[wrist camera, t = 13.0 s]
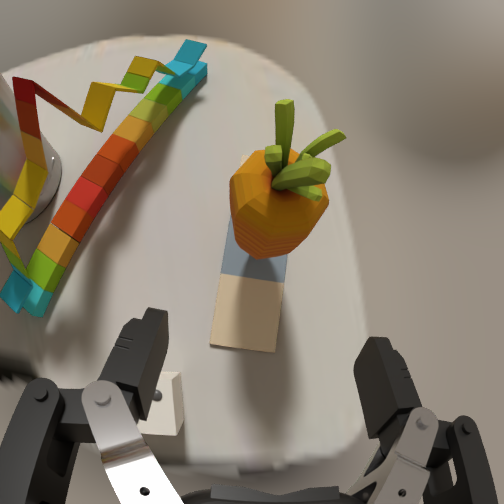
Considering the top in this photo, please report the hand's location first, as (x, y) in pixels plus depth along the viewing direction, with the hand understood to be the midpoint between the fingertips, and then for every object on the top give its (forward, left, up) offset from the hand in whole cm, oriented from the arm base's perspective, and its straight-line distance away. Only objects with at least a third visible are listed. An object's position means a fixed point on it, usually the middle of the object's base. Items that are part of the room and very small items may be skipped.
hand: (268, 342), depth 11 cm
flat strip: (0, +7, -12) cm, 14 cm away
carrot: (0, +7, -12) cm, 14 cm away
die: (-6, -6, -12) cm, 15 cm away
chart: (-15, +13, -12) cm, 23 cm away
